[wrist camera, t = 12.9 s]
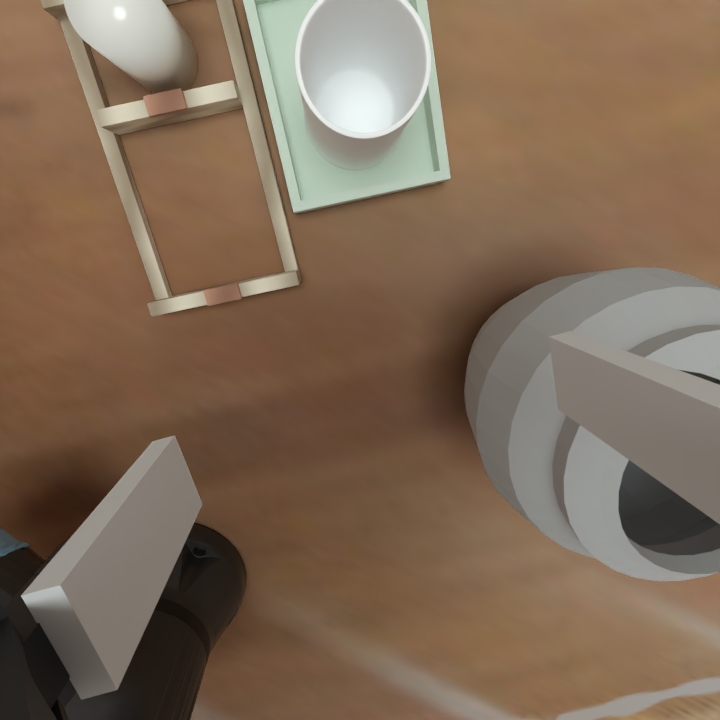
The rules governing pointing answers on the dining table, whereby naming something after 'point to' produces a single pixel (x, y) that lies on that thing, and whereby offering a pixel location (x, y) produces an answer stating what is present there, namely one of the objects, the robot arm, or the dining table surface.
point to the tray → (298, 156)
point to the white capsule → (138, 40)
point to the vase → (572, 441)
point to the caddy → (174, 110)
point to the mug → (360, 77)
